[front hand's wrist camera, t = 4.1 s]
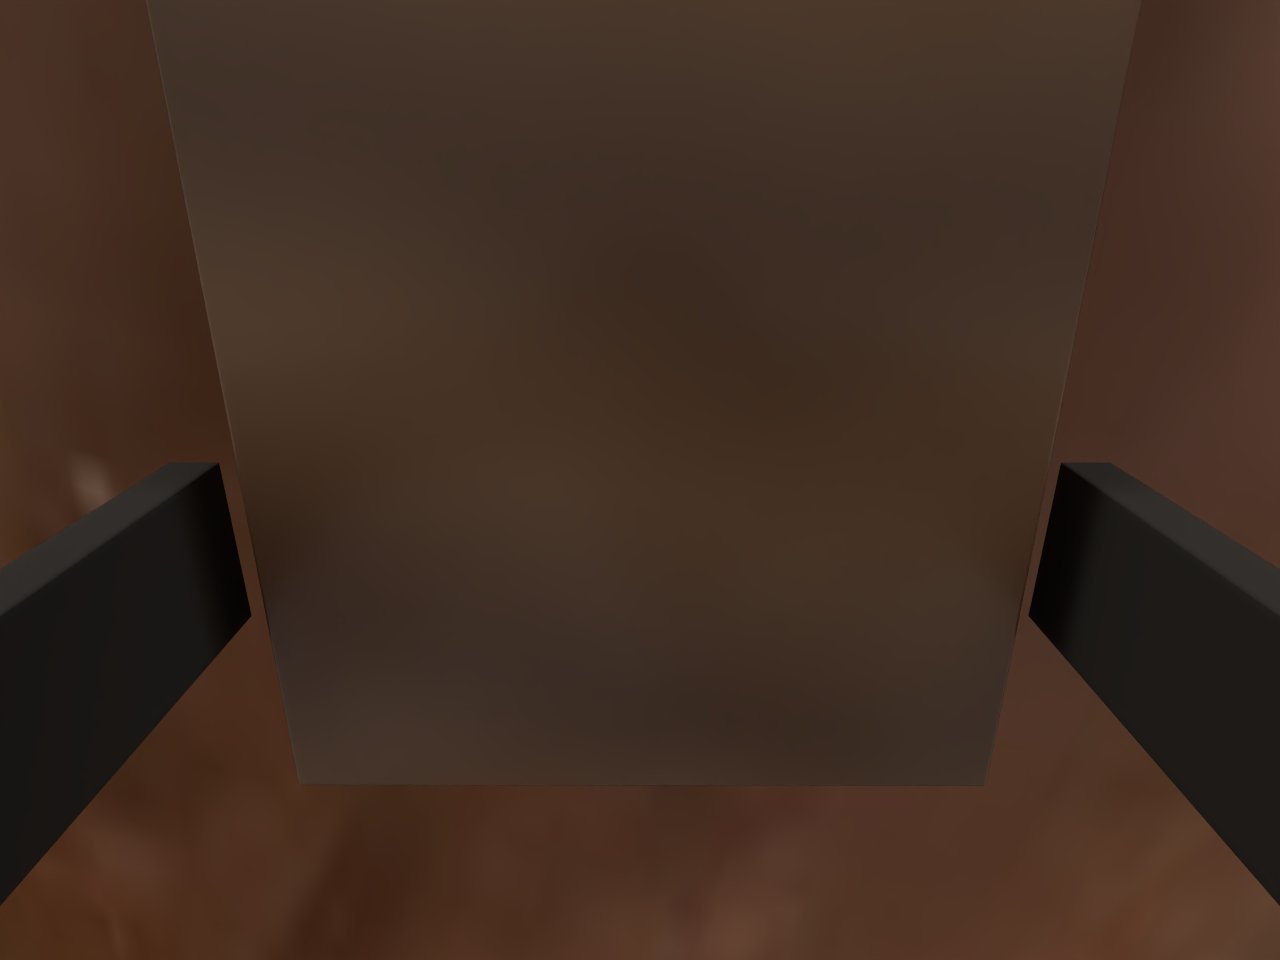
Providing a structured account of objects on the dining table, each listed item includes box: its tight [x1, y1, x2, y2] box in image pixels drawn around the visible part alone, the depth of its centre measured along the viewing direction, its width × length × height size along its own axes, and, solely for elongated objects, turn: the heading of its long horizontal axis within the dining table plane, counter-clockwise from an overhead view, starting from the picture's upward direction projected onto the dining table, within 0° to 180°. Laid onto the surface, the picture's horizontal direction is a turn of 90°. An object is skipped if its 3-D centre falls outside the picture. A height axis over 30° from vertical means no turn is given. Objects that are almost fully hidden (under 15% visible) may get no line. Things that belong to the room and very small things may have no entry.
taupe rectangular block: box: [146, 0, 1142, 786], centre depth 14 cm, size 18×11×10 cm, turn 0°
